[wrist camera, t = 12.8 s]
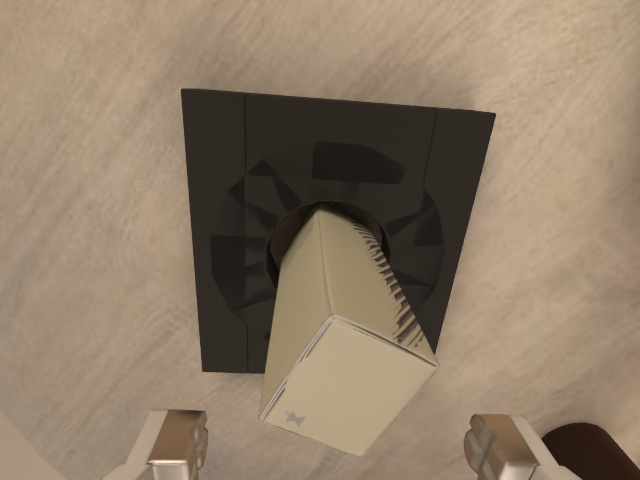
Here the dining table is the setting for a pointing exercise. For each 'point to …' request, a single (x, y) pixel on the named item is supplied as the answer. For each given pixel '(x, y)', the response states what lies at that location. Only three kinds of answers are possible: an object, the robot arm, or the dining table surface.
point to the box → (341, 339)
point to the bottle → (590, 453)
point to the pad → (321, 185)
